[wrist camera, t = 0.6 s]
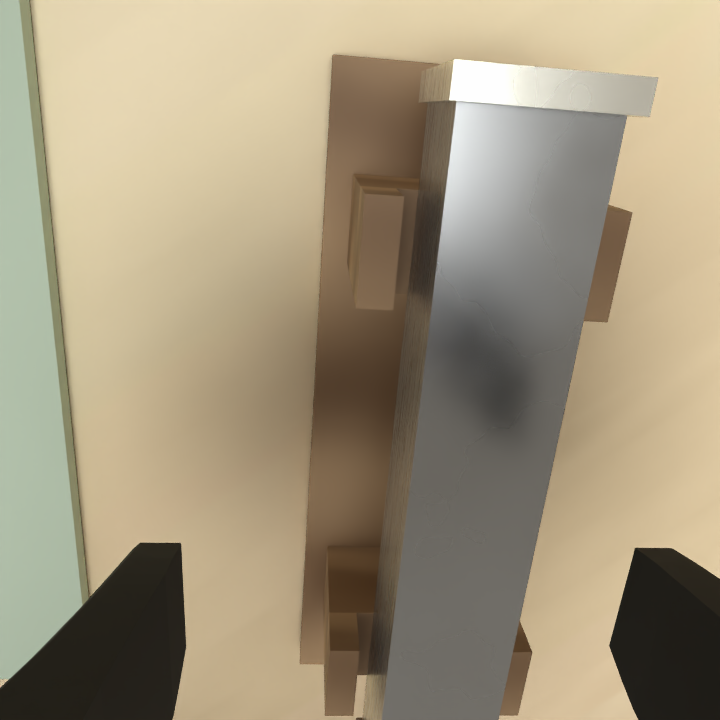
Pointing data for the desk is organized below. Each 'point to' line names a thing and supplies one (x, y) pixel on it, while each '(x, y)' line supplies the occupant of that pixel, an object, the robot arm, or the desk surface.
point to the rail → (486, 368)
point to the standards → (375, 359)
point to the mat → (31, 378)
